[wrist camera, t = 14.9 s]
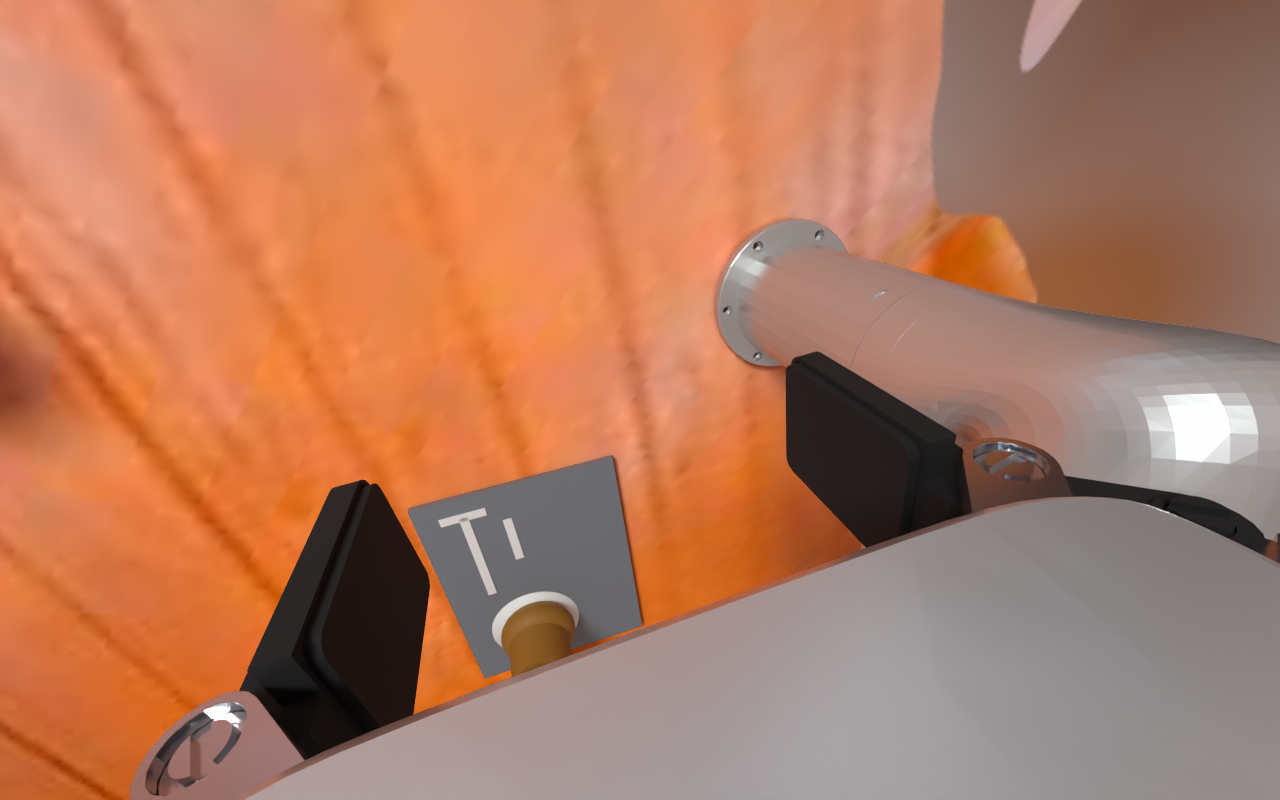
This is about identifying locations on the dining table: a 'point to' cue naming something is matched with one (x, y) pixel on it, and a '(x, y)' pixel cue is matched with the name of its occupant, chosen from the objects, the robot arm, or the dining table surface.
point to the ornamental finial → (537, 635)
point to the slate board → (533, 555)
